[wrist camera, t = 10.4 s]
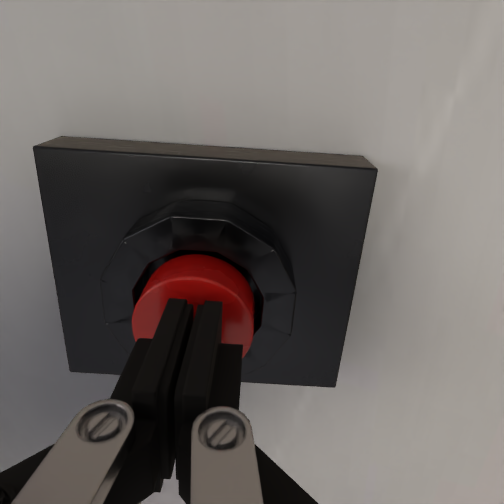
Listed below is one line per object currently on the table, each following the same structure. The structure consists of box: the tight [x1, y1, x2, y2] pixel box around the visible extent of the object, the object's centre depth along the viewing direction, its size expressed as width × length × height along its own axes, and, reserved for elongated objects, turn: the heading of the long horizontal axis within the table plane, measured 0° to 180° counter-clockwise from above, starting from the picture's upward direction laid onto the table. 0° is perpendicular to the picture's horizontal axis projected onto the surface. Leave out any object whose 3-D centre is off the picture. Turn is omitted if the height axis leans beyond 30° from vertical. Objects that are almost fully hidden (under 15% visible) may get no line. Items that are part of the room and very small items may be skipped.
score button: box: [132, 254, 254, 358], centre depth 14 cm, size 4×4×2 cm
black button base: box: [33, 136, 378, 387], centre depth 16 cm, size 12×10×4 cm
